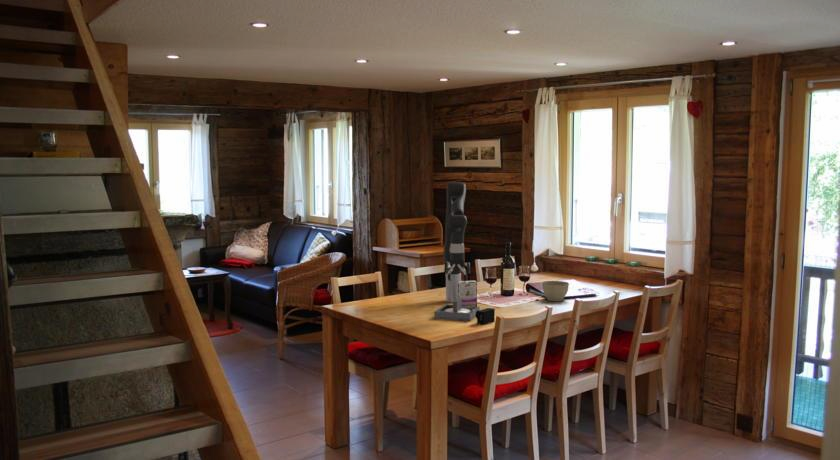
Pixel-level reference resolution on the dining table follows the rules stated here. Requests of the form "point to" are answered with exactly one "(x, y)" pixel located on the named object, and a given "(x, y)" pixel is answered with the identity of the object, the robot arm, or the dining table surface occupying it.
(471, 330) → the dining table surface
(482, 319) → the digital camera
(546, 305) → the dining table surface
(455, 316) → the dial housing
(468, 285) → the candy bar box
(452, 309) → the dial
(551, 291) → the planter bowl
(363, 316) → the dining table surface
